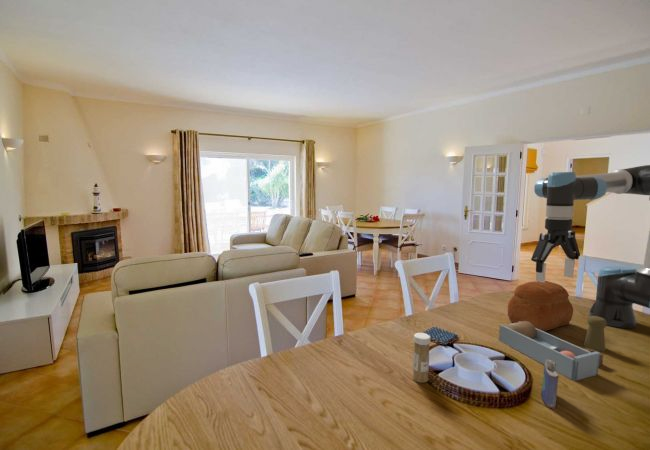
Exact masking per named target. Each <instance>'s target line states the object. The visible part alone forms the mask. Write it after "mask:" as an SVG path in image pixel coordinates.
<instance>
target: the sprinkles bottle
mask: <svg viewBox="0 0 650 450" xmlns="http://www.w3.org/2000/svg"><path fill="white" fill-rule="evenodd" d="M413 343H414V344H413V347H414V348H413V364H412V366H413V371H412V373H413V374H412V379H413V380H414V381H415V382H418V383H424V384H425V383H427V382H428V381H429V365H430V344H431V341H430V336H429V335H428V334H425V333H423V332H416V333H414V335H413Z"/></svg>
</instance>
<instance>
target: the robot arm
mask: <svg viewBox="0 0 650 450" xmlns="http://www.w3.org/2000/svg"><path fill="white" fill-rule="evenodd" d="M533 189H534V194H535V195H536V196H537V197H539V198H544V199H546V207H545V208H546V209H545V217H546V219H545V220H544V228H545V229H546V230H547V231H546V233H540V234H539V238H538V241H537V244H536V246H535V249H534V251H533V253H532V256H531V258H530V260H531V262H534V263H535V273H536V274H535V282H537V281H539V282H543V283H544V282H545V281H546V269H547V263H545V262H546V260H547V258H548V257H549V256H550V254H551V252H552V250H553V249H555V248H556V247H559V246H560V247H561V249H562V251H563V252H564V254H565V256H566V257H565V259H564V271H563V277H567V278H571V279H573V278H574V271H575V264H576V262H575V260H579V259H580V256H581V253H580V249H579V246H578V242H577V239H576V231H574V230H572V229H573V219H572V218H573V217H574V203H575V201H577V200H578V201H580V200H584V201H585V200H598V199H601V198H602V197H603V196H605V194H606V193H613V194H617V195H621V194H628V195H629V194H630V195H640V196H650V164H648V165H647V164H645V165H640V166H635V167H634V166H633V167H628V168H622V169H616V170H613V171H612V172H607V173H594V174H584V175H582V174H581V175H576V172H574V171H562V172H561V171H560V172H559V171H558V172H556V171H553V172H551V173H549V174H548V177H544V178H540V179H538V180H536V182H535V184H534V187H533ZM648 200H649V201H650V197H649V199H648ZM596 286H597V287H596V293H595V295H596V296H595V301H594V302H593V304H592V306H591V307H590V309H589V311H588V318H589V317H590V316H598V317H601V318H604V319H605V320H606V323H607V325H606V326H609V327H615V328H620V329H621V328H622V329H624V328H625V329H631V328H635V327H636V326H637V318H636V315H635V312H634V308H633V304H635V305H638V306H641V307H644V308H648V309H650V229H649V231H648V237H647V243H646V249H645V254H644V260H643V265H642V268H639V269H636V268H633V267H626V266H602V267H600V268H599V271H598V275H597V285H596Z"/></svg>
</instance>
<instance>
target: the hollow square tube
mask: <svg viewBox="0 0 650 450" xmlns="http://www.w3.org/2000/svg"><path fill="white" fill-rule="evenodd" d="M586 350H587V349H586ZM587 351H589V352H596V351H595V350H592V349H588V350H587ZM599 353H600V358H599V366H602V365H603V363H604V362H603V361H604V353H602V352H599Z"/></svg>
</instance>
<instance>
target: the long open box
mask: <svg viewBox="0 0 650 450" xmlns="http://www.w3.org/2000/svg"><path fill="white" fill-rule="evenodd" d="M498 341H499V342H501V343H503V344H505V345H506V346H508V347H511V348H512V349H514V350H515V351H517V352H520V353H521V354H523V355H525V356H527V357H529V358H531V359H532V360H534V361H537V363H540V364H542V365H544V364H545V361H546V360H547V359H548V360H551V361H554V362H555V363H556V365H555V370H556V372H557V373H558V374H561V375H563V376H564V377H567V378H568V379H570V380H572V381H574V382H576V381H580V380H583V379H586V378H591V377H594V376H598V374H599V366H600V365H599V358H600V353H601V352H600V351H596V352H589V351H587V349H585V348H583V347H580V346H578V345H576V344H573V343H571V342H570V341H567V340H564V339H562V338H559V337H558V336H555V335H553V334H550V333H548V332H547V331H541V330H539V329H537V328H535V327H534V326H533V324H531V323H530V322H528V321H523V322H521V321H519V322H517V323H514V322H512V323H506V324H505V325H503V324H500V325H499V332H498ZM562 351H570V352H572V353H573V354H574V355H575V357H574V358H571V357H569V356H566V355H564V354H562V353H560V352H562Z"/></svg>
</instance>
